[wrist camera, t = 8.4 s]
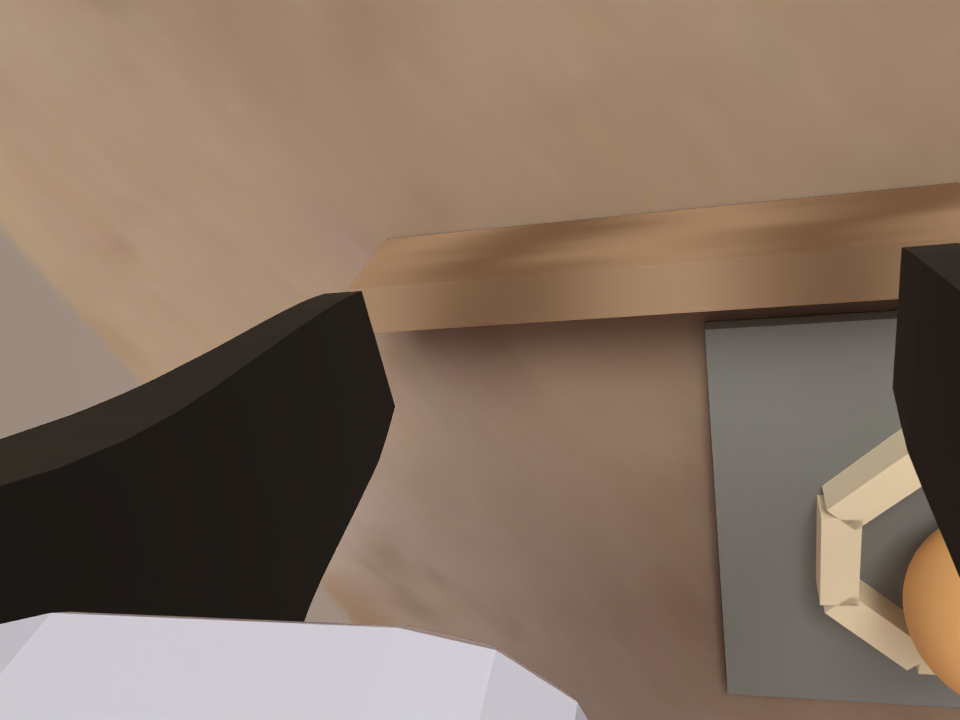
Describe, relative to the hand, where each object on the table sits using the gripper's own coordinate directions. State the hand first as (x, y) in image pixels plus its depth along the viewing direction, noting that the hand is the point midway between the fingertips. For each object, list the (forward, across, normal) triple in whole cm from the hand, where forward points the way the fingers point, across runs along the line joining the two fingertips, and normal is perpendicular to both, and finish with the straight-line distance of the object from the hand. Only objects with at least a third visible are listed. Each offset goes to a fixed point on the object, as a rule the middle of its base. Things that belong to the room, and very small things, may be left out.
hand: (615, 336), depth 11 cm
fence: (+9, -4, +2) cm, 11 cm away
